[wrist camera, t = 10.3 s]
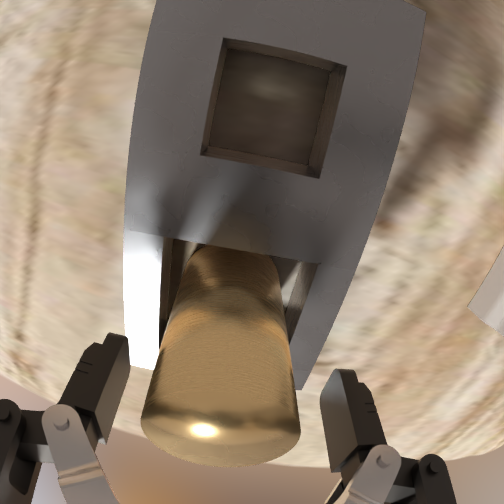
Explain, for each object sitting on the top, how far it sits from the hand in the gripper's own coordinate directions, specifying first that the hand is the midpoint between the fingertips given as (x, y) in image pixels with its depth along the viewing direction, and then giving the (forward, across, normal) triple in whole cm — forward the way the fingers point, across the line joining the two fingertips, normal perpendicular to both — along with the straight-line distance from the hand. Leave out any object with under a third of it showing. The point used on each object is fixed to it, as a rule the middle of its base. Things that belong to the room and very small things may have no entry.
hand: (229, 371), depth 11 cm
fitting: (+6, 0, 0) cm, 6 cm away
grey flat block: (+6, 0, -5) cm, 8 cm away
